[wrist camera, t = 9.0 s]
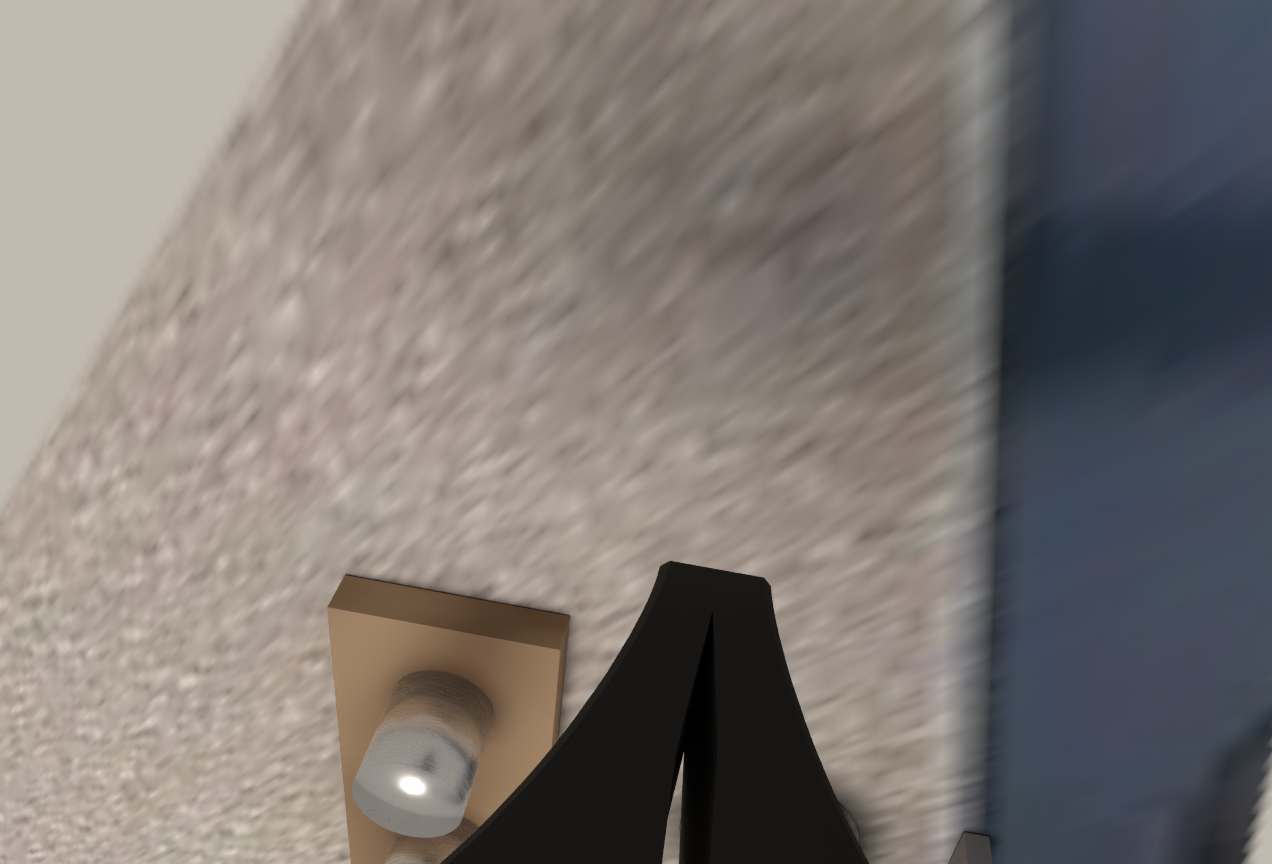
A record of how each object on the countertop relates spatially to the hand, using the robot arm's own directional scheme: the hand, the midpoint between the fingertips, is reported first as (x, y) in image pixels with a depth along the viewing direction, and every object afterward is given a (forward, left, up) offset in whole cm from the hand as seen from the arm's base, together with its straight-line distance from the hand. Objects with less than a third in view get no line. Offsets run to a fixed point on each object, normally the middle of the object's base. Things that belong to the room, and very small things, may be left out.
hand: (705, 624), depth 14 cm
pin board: (+6, +16, -9) cm, 20 cm away
